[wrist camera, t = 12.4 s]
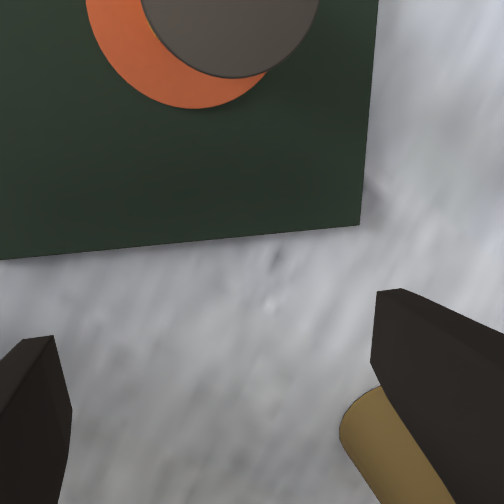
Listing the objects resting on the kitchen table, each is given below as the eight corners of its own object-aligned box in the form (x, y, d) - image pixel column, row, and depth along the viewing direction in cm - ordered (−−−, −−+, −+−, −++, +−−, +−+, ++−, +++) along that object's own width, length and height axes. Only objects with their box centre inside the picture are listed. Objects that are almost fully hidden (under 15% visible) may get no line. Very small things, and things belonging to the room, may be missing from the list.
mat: (-17, 258, 19) (-21, 264, 18) (-178, -297, 12) (-193, -312, 12) (356, 222, 22) (361, 227, 21) (394, -247, 15) (403, -257, 14)
